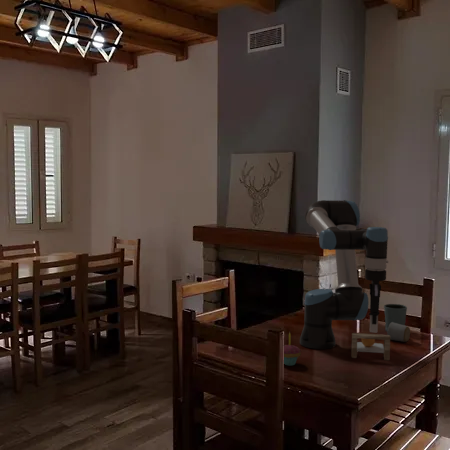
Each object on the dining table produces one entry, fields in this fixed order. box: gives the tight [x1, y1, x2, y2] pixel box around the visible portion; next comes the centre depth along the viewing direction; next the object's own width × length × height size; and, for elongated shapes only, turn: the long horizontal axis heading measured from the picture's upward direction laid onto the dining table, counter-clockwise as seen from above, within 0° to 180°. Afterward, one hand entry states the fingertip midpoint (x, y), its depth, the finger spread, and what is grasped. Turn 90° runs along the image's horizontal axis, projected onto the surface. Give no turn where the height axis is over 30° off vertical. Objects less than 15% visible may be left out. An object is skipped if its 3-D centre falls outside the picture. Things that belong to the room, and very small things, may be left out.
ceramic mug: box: [386, 322, 411, 343], centre depth 241 cm, size 11×8×8 cm
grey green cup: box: [383, 303, 408, 332], centre depth 255 cm, size 10×10×12 cm
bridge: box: [350, 332, 391, 361], centre depth 215 cm, size 3×14×9 cm, turn 79°
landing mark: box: [357, 341, 384, 354], centre depth 229 cm, size 13×13×1 cm
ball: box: [361, 338, 376, 347], centre depth 230 cm, size 6×6×6 cm
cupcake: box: [283, 331, 302, 367], centre depth 207 cm, size 9×8×12 cm
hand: (373, 331), depth 202 cm, fingers closed
